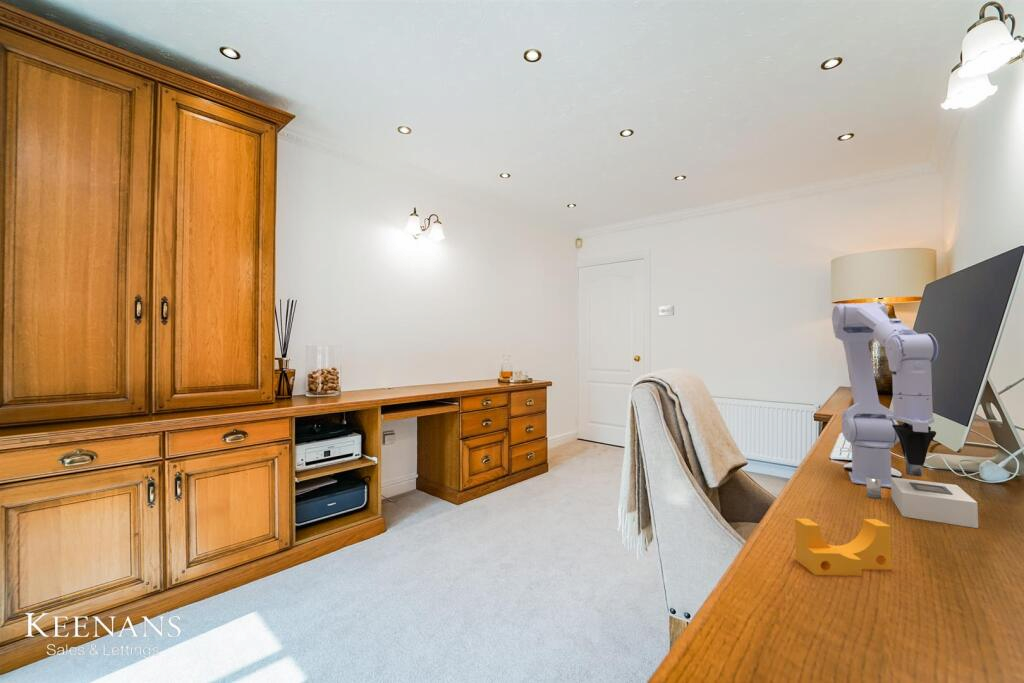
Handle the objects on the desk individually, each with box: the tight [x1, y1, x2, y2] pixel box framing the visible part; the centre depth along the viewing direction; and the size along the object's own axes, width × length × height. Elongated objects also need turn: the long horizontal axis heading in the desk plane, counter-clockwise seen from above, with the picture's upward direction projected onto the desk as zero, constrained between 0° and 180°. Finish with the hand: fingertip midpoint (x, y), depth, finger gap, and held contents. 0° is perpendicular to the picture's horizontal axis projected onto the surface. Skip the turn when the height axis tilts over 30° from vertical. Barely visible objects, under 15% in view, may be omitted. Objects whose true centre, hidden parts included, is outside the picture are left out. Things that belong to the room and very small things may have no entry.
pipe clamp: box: [794, 518, 893, 577], centre depth 63 cm, size 12×4×6 cm, turn 87°
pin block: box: [890, 476, 979, 529], centre depth 83 cm, size 12×10×5 cm
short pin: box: [866, 477, 882, 500], centre depth 92 cm, size 2×2×4 cm
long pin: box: [904, 454, 923, 478], centre depth 84 cm, size 2×2×6 cm
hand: (914, 462), depth 84 cm, fingers closed on long pin, 2 cm apart
